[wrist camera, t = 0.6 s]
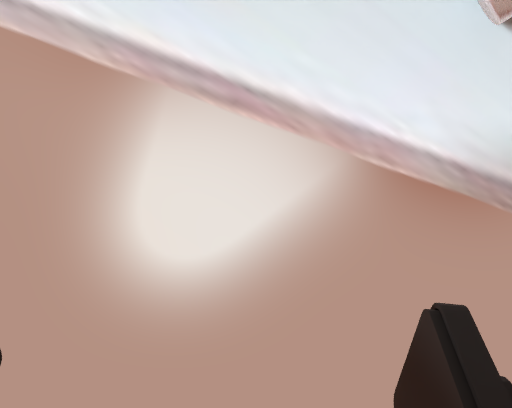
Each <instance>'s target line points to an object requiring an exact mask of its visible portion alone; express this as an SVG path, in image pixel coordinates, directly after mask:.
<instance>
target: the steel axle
mask: <svg viewBox="0 0 512 408" xmlns="http://www.w3.org/2000/svg"><path fill="white" fill-rule="evenodd" d="M478 2H479V4H480V6H481V8H482V9H483V11H484V12H485V14H486V15H487V17H488V18H489V19H490V20H491V21H492V22H493V23H494V24H496V25H499V24H501V23H503V22H504V21H506V20H508V19H509V18H511V17H512V0H478Z"/></svg>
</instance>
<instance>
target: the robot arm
mask: <svg viewBox="0 0 512 408" xmlns="http://www.w3.org/2000/svg"><path fill="white" fill-rule="evenodd" d="M1 361H2V355H1V350H0V365H1ZM394 408H512V384H511V382H510V381H508V379H506V378H505V377H503V376H500V375H499V373H498V371H497V369H496V367H495V365H494V362H493V360H492V358H491V356H490V354H489V352H488V350H487V348H486V346H485V343H484V341H483V339H482V337H481V335H480V333H479V331H478V328H477V327H476V324H475V322H474V320H473V318H472V316H471V314H470V311H469V310H468V308H467V307H466V306H464V305H454V304H445V303H434V304H433V305H432V307H431V309H424V310H423V312H422V314H421V317H420V320H419V323H418V326H417V329H416V332H415V334H414V337H413V341H412V343H411V346H410V349H409V352H408V355H407V358H406V361H405V363H404V366H403V369H402V372H401V375H400V378H399V381H398V384H397V387H396V389H395V393H394Z"/></svg>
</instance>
